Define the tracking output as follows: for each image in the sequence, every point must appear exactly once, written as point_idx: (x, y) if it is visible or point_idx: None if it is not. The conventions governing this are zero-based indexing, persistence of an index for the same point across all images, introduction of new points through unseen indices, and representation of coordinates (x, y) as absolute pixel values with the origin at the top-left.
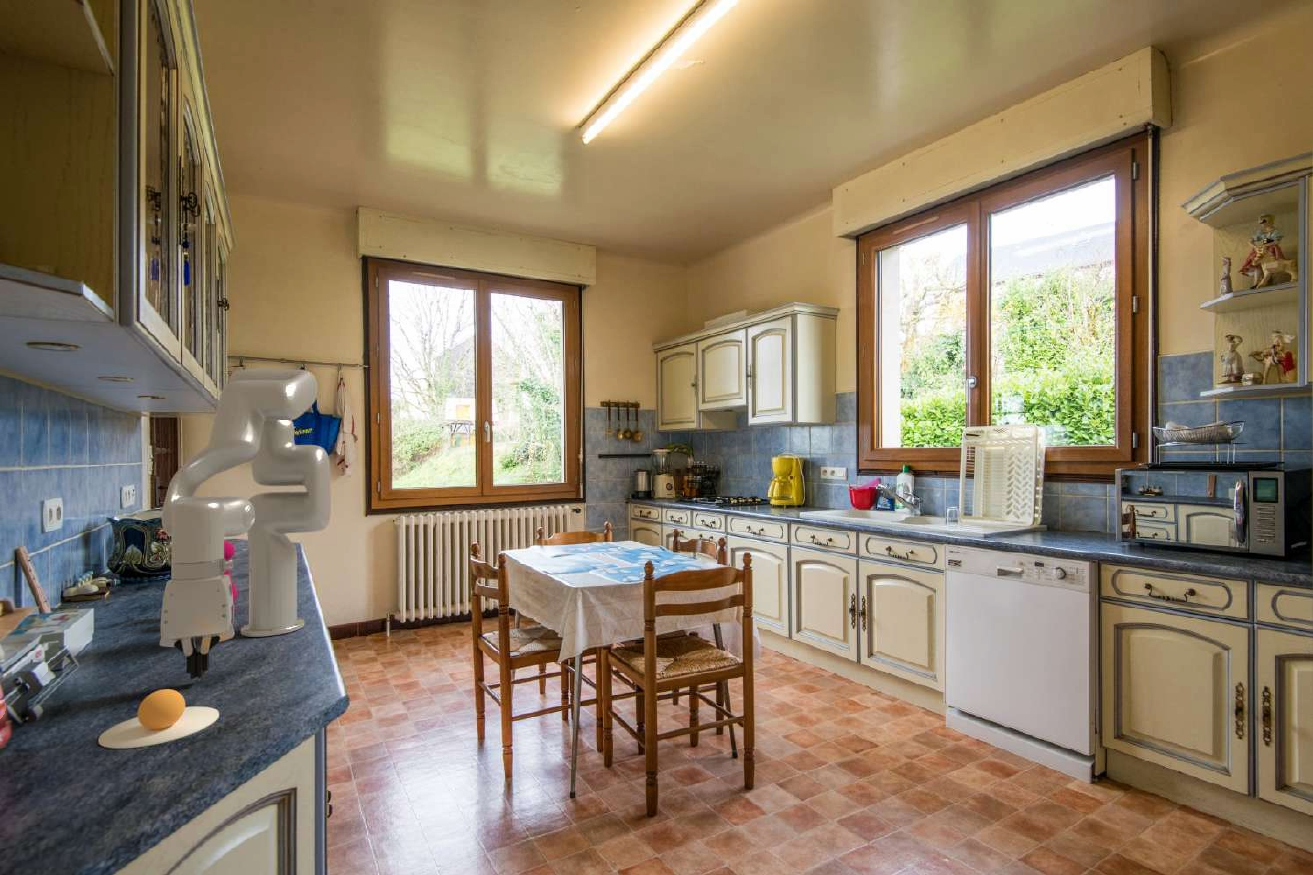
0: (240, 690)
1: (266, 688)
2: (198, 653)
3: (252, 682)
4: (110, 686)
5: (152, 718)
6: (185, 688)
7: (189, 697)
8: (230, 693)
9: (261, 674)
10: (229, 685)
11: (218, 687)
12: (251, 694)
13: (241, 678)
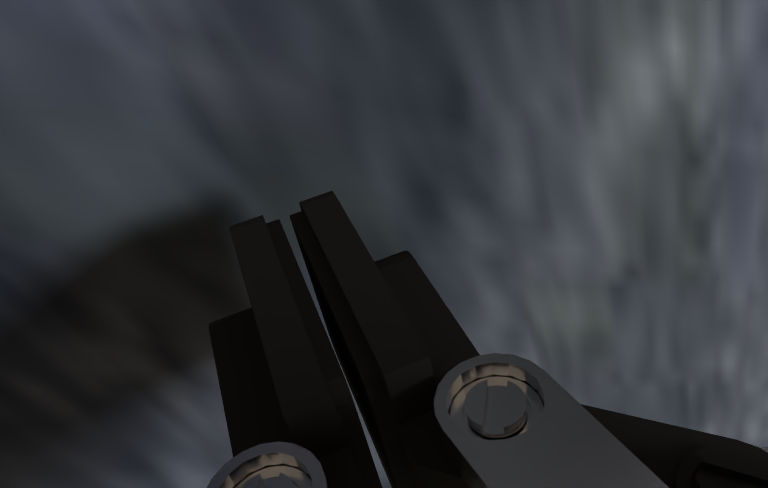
0: (625, 354)
1: (746, 329)
2: (356, 414)
3: (678, 226)
4: None
5: None
6: (226, 316)
7: None
8: (581, 394)
9: (733, 42)
10: (546, 272)
11: (483, 305)
12: (680, 402)
13: (600, 123)
